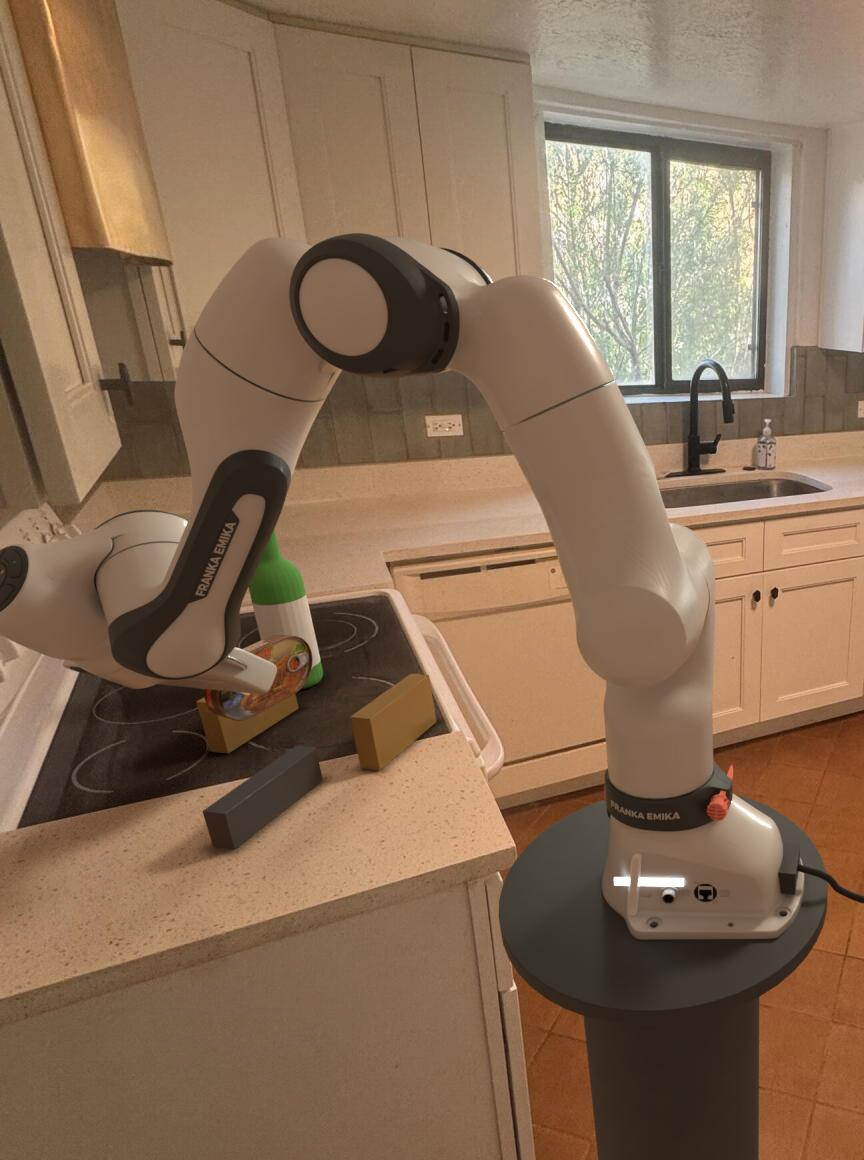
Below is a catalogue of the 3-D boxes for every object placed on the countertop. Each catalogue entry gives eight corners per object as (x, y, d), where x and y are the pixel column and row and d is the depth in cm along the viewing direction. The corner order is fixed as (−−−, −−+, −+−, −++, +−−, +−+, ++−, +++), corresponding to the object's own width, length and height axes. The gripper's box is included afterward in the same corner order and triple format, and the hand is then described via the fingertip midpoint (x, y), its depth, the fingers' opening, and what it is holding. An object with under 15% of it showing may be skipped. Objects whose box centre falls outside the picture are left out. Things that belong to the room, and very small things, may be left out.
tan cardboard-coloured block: (298, 708, 124) (288, 662, 121) (228, 753, 111) (214, 703, 108) (282, 706, 124) (271, 661, 121) (210, 751, 111) (195, 701, 109)
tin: (224, 732, 96) (216, 670, 92) (202, 726, 96) (194, 664, 93) (316, 683, 109) (312, 628, 106) (297, 678, 110) (292, 623, 107)
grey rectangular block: (323, 780, 105) (316, 747, 103) (234, 850, 91) (224, 813, 89) (303, 777, 105) (296, 745, 103) (212, 847, 91) (201, 811, 90)
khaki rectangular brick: (436, 722, 120) (429, 674, 117) (380, 770, 107) (369, 718, 104) (419, 720, 120) (410, 673, 117) (360, 768, 107) (349, 716, 104)
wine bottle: (333, 674, 136) (298, 504, 125) (307, 694, 128) (267, 515, 118) (290, 673, 136) (251, 503, 125) (262, 693, 129) (217, 515, 118)
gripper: (234, 626, 84) (315, 671, 97) (77, 613, 88) (174, 658, 100) (210, 681, 82) (296, 719, 94) (49, 665, 85) (153, 705, 98)
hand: (232, 688), depth 97 cm, fingers closed on tin, 2 cm apart
